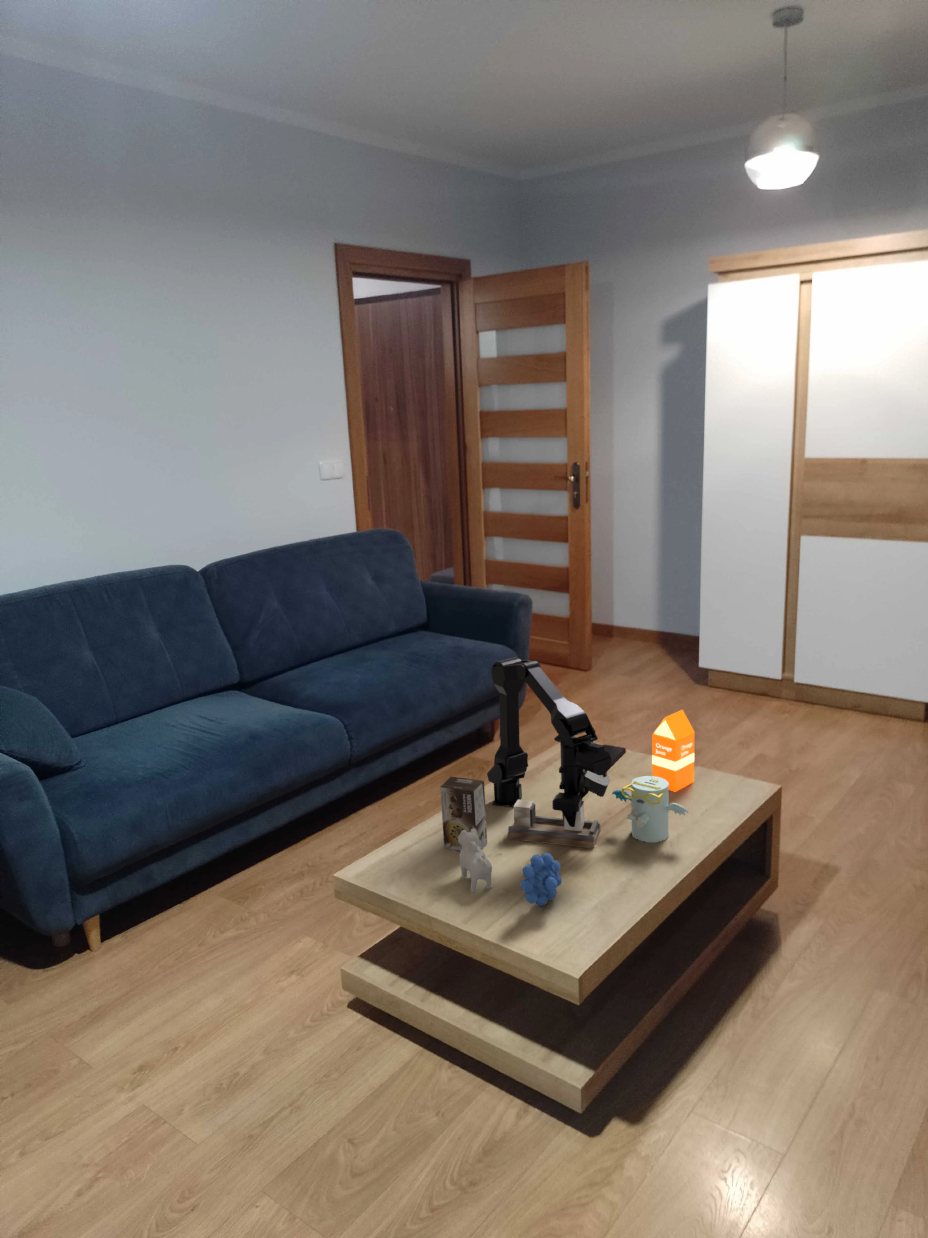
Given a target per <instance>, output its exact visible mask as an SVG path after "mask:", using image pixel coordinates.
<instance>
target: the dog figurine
mask: <svg viewBox="0 0 928 1238" xmlns="http://www.w3.org/2000/svg"><path fill="white" fill-rule="evenodd" d="M458 842H459V843H460V844H461V845H462V850H461V851H459V852H460V853H459V863H460V864H459V865H460V871H461V876H460V877H461V879H467V878H468V872H469V877H470V882H471V883H470V893H475V892H477V885H478V881H479V880H482V881H485V882H486V886H485V887H484V888H485V889H488V890H489V889H492V888H493V884H492V872H493V866H492V863H491V862H490V860H489V859H488V858H486V854H485V852H484V851H483V849H481V847H480V846H479V837H478V835H477V831H476V829H471V832H468V833H467V832H466V830H462V831H461V834H460V835H459V836H458Z"/></svg>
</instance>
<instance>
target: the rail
mask: <svg viewBox="0 0 928 1238" xmlns="http://www.w3.org/2000/svg"><path fill="white" fill-rule="evenodd" d="M534 802H535V801H534V800H526V799H521V800H517V802H516V803H515V805H514V807H513V824H512V825H509V826H508V827H507V830H508V832H507V839H508V840H514V841H515V840H516V841H523V842H524V841H526V842H532V843H543V844H551V845H561V846H569V847H578V848H586V849H587V848H589V849H594V848H595V845H596V844H597V841H598V838H599V836H600V834H601V831H602V830H601V829H602V827H601V823H600V821H599V820H595V819H594V820H593V821H592V820H591V821H590V820H584V826H583V828H582V830H581V831H574V830H565V829H564V825H563V817H562V818H560V817H551V816H541V815H536V804H535V803H534Z"/></svg>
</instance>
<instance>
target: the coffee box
mask: <svg viewBox="0 0 928 1238" xmlns="http://www.w3.org/2000/svg"><path fill="white" fill-rule="evenodd" d="M439 791H440V792H439V794H440V805H441V817H442V818H441V819H442V832H443V833H442V834H443V848H444V849H447V850H454V851H459V852H461V850H462V845H461V844H460V843H459V842H458V836H459V835H460V834H461V831H462V830H466V832H467V833H468V832H471V829H476V831H477V835H478V837H479V846H480V847H481V850H483V848H484V847H485V846H486V845H487V844H488V834H487V833H488V832H487V831H488V829H487V813H486V811H487V810H486V809H487V808H486V796H485V794H486V793H485V780H482V779H481V780H480V779H473V778H472V779H471V778H464V777H457V776H450V777H449V778H448V779H446V781H445V782H443V784H441V785H440V787H439Z"/></svg>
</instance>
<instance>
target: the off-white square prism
mask: <svg viewBox="0 0 928 1238" xmlns="http://www.w3.org/2000/svg"><path fill="white" fill-rule="evenodd" d="M582 802H584V803H583V805H582V807H581V808H580V810H579V812H577V816H576V822H575V826H574V827H570V826H569V824H568V822H567V820H566V818H565V816H564V814H563V813H562V812H561V813H562V819H563V825H564V829H565V830H574V831H581V830H582V828H583V826H584V821H585V801H584V800H582Z"/></svg>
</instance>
